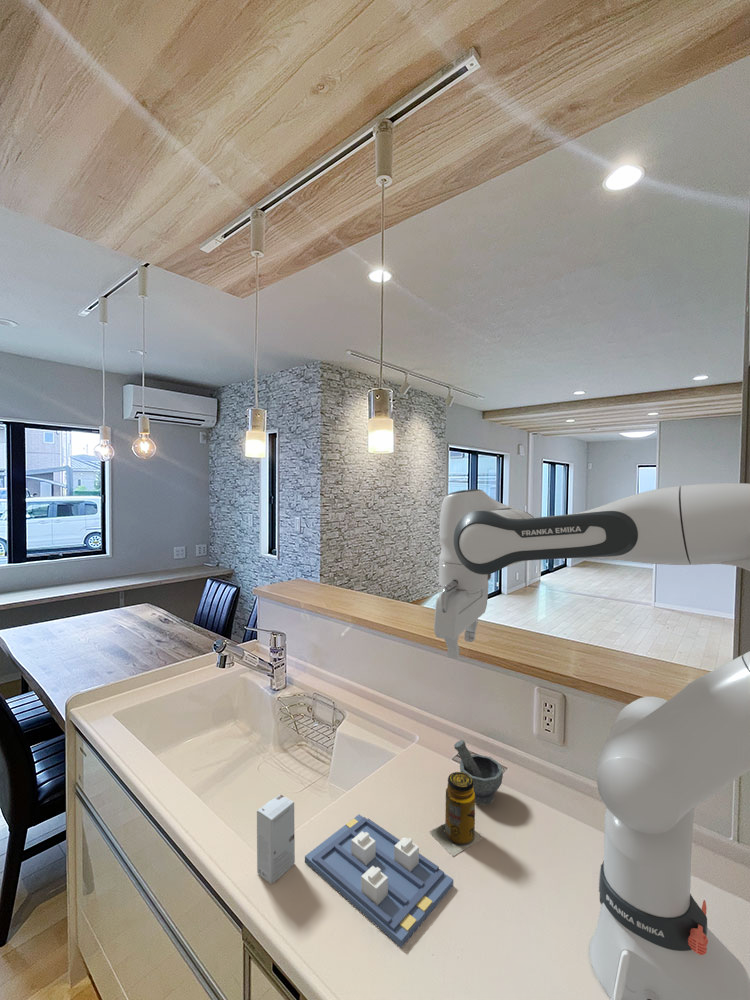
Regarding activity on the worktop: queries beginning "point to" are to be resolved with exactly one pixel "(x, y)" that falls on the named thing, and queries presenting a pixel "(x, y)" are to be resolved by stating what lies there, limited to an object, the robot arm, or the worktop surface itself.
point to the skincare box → (275, 838)
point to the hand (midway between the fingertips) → (462, 648)
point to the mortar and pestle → (480, 773)
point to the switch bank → (406, 890)
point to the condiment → (458, 815)
